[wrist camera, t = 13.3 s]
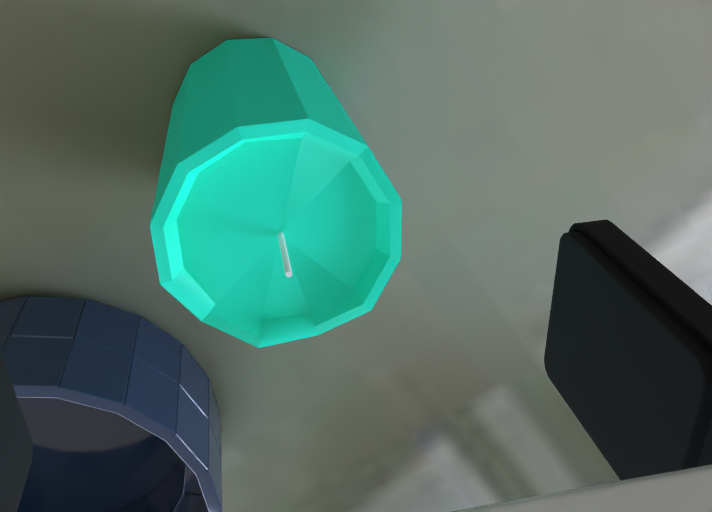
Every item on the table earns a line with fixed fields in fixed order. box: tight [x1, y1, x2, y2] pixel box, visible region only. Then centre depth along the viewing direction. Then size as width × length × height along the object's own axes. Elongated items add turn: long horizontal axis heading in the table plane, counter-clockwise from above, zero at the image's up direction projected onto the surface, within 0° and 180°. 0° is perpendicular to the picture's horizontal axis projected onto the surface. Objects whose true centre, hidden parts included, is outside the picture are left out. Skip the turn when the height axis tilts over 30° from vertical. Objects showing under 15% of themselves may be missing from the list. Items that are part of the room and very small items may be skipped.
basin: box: [0, 296, 222, 512], centre depth 27 cm, size 13×13×6 cm
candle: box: [150, 38, 402, 348], centre depth 20 cm, size 6×6×12 cm
